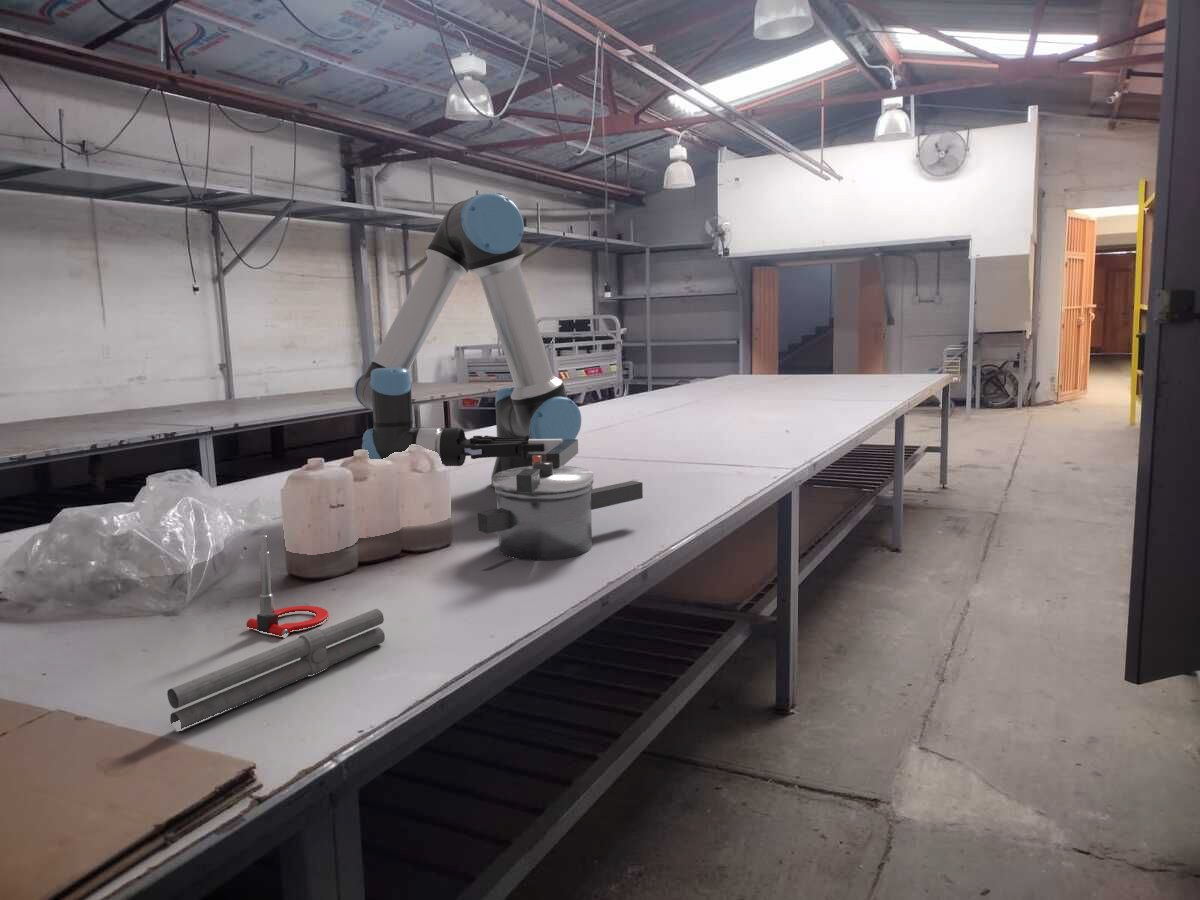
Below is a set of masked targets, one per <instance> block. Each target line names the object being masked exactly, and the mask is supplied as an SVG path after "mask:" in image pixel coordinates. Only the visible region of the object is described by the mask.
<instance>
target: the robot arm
mask: <svg viewBox="0 0 1200 900" xmlns="http://www.w3.org/2000/svg"><path fill="white" fill-rule="evenodd" d="M524 228H525V227H524V219H523V216H522V213H521V212H520V209H519V207H518V206H517V205H516V204H515V203H514V201H512V200H511V199H510V198H508V197H507V196H506V197H505V195H502V194H499V193H495V192H493V193H492V192H490V193H485V192H484V193H479V194H475V195H474V196H471V197H470V198H468V199H465V200H461V201H459V202H457V203H455V204H454V205H452V207H450V208H449V209H448V210H447V211H446V213H445V215H444V216H443V218H442V219H441V221H440V224H439V225H438V228H437V230H436V231H435V234H434V235H433V238H432V239H431V241H430V243H429V245H428V247H427V249H426V251H425V254H426V257H427V259H426V260H425V263H424V264H423V266H422V269H421V270H420V272H419V274H418V276H417V278H416V280H415V281H414V283H413V285H412V287H411V289H410V290H409V292H408V294H407V296H406V297H405V300H404V302H403V303H402V304H401V307H400V309H399V311H398V313H397V314H396V316H395V318H394V319H393V322H392V323H391V325H390V328H389V329H388V331H387V333H386V335H385V337H384V338H383V339H382V342H381V343H380V345H379V347H378V349H377V351H376V353H375V355H374V357H373V358H372V360H371V363H370V364H369V365H368V368H367V370H366V372H365V373H363V375H361V376H359V378H357V379H356V381H355V384H354V386H353V394H354V397H355V399H356V401H358V403H359V404H360V405H362V406H363V407H364V409H365V408H366V409H367V410H371V411H372V415H373V416H372V417H373V418H372V419H373V428H368V429H367V430H365V432H364V433H363V435H362V444H361V450H362V449H365V450H368V452H369V454H368V455H369V458H370V459H383V458H386V457H388V456H389V455H390V454H392V453H394V452H402V451H405V450H406V449H407V448H408V447H409V445H411V444H416V445H420V446H422V447H424V448H426V449H429V450H432V451H435V452H437V453H438V454H439V456H440V458H441V461H442V465H443V466H445V467H462V466H463V465H464V463H465V462H466V459H467V457H470V459H471V460H476V459H483V458H486V459H487V458H495V462H494V466H493V469H492V471H491V476H490V477H491V481H490V482H491V484H490V485H491V487H492V488H494V489H495V487H494V486H493V476H494V475H495V474H496V473H498V472H501V471H504V470H508V469H513V468H519V467H527V466H532V456H533V455H541V459H542V462H544V461H545V462H546V453H548V452H549V451H550V450H552V449H553V448H555V447H556V446H557V445H559V444H560V443H562V442H563V441H564V440H566V439H577V437H578V434H579V433H580V430H581V427H582V414H581V410H580V408H579V407H578V404H576V403H575V402H574V401H573V399H570V397H568V395H567V392H566V388H565V385H564V382H563V380H562V379H561V378H559V377H557V376H555V375H554V373H553V370H552V367H551V363H550V360H549V358H548V354H547V350H546V347H545V343H544V341H543V338H542V334H541V331H540V328H539V325H538V321H537V318H536V315H535V310H534V307H533V304H532V301H531V298H530V294H529V291H528V288H527V284H526V280H525V278H524V275H523V272H522V268H521V263H522V261H523V259H524V256H525V252H524V249H523V245H522V242H521V241H522V237H523V234H524V230H525V229H524ZM468 272H471V273H472V274H474V275H475V276H477V277H478V278H479V279H480V283H481V285H482V289H483V292H484V295H485V299H486V301H487V305H488V307H489V310H490V315H491V317H492V319H493V320H492V321H493V323H494V326H495V329H496V332H497V335H498V339H499V342H500V345H501V348H502V351H503V354H504V355H503V356H504V358H505V361H506V364H507V367H508V370H509V373H510V376H511V379H512V382H513V384H514V385H513V386H511V387H501V388H499V389H497V390H496V392H495V400H494V401H495V402H494V406H495V423H496V425H495V427H496V436H492V435H473V436H472V437H471V438H467V437H466V433H465V431H464V430H463V428H462V427H445V428H443V429H442V428H441V427H421V428H416V427H415V428H414V426H413V425H414V423H413V421H414V420H413V419H414V418H413V400H412V399H413V398H412V397H413V396H412V382H411V376H410V372H409V371H410V369H411V367H412V365H413V363H414V361H415V360H416V358H417V356H418V354H419V353H420V351H421V348H422V346H423V345H424V344H425V341H426V339H427V337H428V336H429V334H430V332H431V330H432V328H433V327H434V325H435V323H436V322H437V319H438V317H439V315H440V313H442V310H443V308H444V306H445V305H446V303H447V301H448V299H449V298H450V295H451V294H452V292H453V290H454V288H455V286H456V284H457V283H458V280H459V278H462V277H464V276H467V274H468Z"/></svg>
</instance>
